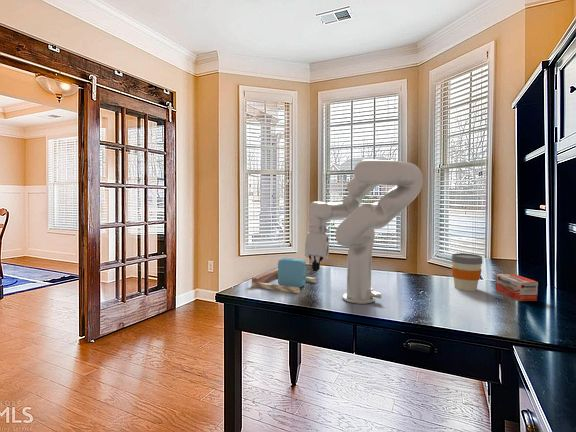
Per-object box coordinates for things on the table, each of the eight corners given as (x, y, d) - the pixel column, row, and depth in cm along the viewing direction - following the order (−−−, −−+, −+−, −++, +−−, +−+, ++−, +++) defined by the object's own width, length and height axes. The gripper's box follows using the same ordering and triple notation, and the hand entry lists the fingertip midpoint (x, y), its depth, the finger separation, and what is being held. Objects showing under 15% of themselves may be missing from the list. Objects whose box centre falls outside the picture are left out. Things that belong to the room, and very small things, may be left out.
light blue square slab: (305, 285, 165) (305, 259, 164) (302, 287, 161) (303, 261, 160) (281, 282, 169) (281, 257, 168) (277, 285, 165) (277, 259, 164)
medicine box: (495, 291, 159) (496, 273, 159) (512, 291, 160) (513, 273, 159) (518, 301, 144) (519, 282, 143) (538, 301, 144) (539, 282, 144)
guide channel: (316, 282, 171) (316, 273, 170) (298, 293, 152) (298, 284, 152) (273, 276, 181) (273, 268, 180) (251, 286, 162) (251, 277, 162)
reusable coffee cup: (449, 289, 160) (450, 256, 159) (451, 283, 171) (452, 252, 170) (481, 293, 154) (482, 259, 153) (481, 287, 165) (482, 254, 164)
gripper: (336, 230, 158) (334, 271, 160) (305, 227, 164) (303, 266, 166) (330, 232, 151) (328, 275, 153) (298, 229, 158) (296, 270, 159)
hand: (315, 270), depth 159 cm, fingers closed
